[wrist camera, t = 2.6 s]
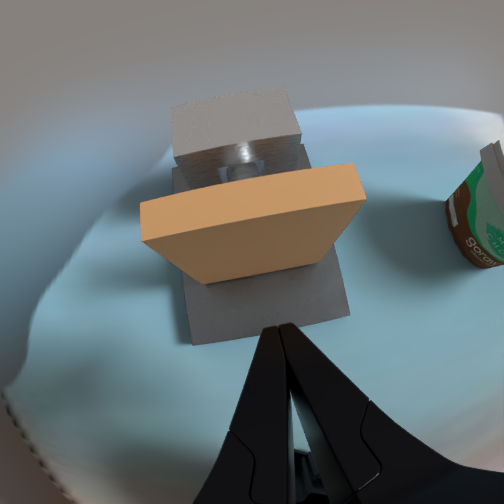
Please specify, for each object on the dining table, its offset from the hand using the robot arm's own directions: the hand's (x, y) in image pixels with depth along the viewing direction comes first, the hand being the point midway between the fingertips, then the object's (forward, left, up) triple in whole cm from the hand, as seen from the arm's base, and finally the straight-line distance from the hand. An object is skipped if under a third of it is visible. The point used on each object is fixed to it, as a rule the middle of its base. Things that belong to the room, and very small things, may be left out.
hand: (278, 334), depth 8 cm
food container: (+14, -16, -13) cm, 25 cm away
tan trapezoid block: (+6, +4, -11) cm, 13 cm away
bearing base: (+5, +4, -13) cm, 14 cm away
